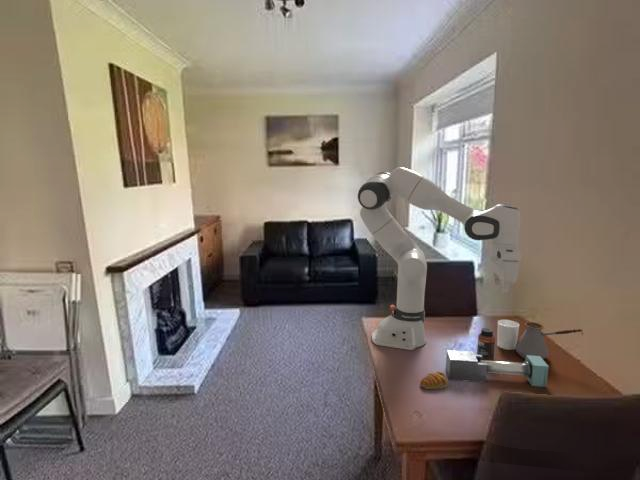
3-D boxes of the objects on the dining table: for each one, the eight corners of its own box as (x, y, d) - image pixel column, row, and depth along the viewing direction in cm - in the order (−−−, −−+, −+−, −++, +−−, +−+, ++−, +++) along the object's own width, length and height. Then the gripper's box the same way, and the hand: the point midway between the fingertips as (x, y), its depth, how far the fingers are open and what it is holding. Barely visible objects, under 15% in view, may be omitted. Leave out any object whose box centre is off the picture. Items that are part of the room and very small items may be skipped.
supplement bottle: (492, 355, 153) (495, 327, 151) (494, 362, 148) (496, 333, 146) (476, 352, 155) (478, 325, 153) (477, 359, 150) (479, 331, 148)
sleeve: (449, 379, 136) (450, 359, 134) (445, 369, 143) (446, 350, 142) (485, 382, 134) (487, 362, 133) (480, 371, 141) (481, 352, 140)
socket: (531, 385, 132) (534, 365, 131) (524, 374, 139) (526, 355, 138) (546, 386, 132) (548, 366, 130) (537, 375, 139) (539, 356, 137)
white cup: (512, 342, 164) (514, 319, 162) (520, 351, 157) (522, 327, 155) (493, 341, 165) (495, 319, 163) (499, 350, 157) (501, 326, 155)
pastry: (428, 394, 128) (429, 383, 127) (414, 384, 134) (415, 373, 133) (450, 386, 132) (451, 376, 131) (435, 377, 138) (436, 367, 137)
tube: (481, 376, 135) (482, 362, 134) (477, 369, 140) (478, 355, 139) (540, 381, 132) (542, 366, 131) (534, 373, 137) (536, 359, 136)
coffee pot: (511, 357, 151) (515, 320, 149) (517, 346, 160) (521, 312, 158) (577, 375, 139) (582, 335, 136) (579, 362, 148) (585, 324, 145)
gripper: (486, 244, 150) (483, 279, 153) (503, 256, 130) (499, 296, 133) (504, 244, 149) (500, 280, 152) (523, 257, 129) (519, 297, 132)
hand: (500, 288), depth 142 cm, fingers open, 8 cm apart
